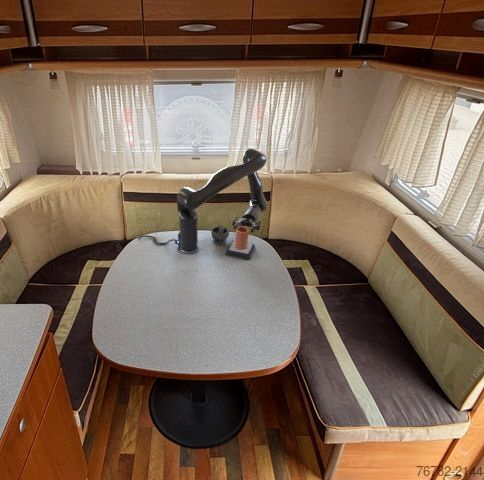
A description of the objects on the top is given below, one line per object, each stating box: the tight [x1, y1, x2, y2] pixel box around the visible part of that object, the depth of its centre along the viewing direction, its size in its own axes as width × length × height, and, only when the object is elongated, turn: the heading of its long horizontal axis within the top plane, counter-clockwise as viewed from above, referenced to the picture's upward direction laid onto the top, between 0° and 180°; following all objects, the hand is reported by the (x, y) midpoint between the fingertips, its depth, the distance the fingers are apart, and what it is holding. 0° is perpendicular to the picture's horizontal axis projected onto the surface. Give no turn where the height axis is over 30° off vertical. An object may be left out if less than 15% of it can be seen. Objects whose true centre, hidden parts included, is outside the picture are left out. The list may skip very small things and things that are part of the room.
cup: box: [234, 226, 250, 250], centre depth 181 cm, size 6×6×10 cm
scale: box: [225, 239, 256, 261], centre depth 185 cm, size 12×12×3 cm
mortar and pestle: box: [210, 225, 230, 245], centre depth 191 cm, size 11×9×12 cm
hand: (243, 229), depth 181 cm, fingers open, 8 cm apart
